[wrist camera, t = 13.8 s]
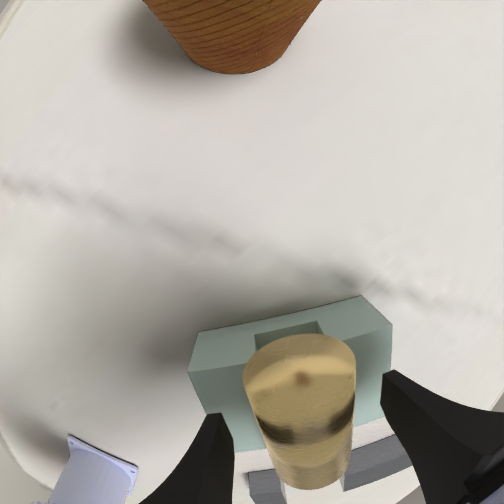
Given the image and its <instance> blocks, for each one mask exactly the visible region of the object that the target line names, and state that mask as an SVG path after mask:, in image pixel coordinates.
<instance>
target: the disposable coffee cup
mask: <svg viewBox="0 0 504 504" xmlns="http://www.w3.org/2000/svg"><path fill="white" fill-rule="evenodd" d="M142 1H144V2H145V3H146V4H147V5H148V7H149V8H150V9H151V10H152V11H153V13H154V14H155V15H156V16H157V17H158V18H159V20H160V21H161V22H162V23H163V24H164V26H165V27H166V28H167V29H168V31H169V32H170V33H171V34H172V36H173V37H174V38H175V39H176V41H177V42H178V43H179V44H180V46H181V47H182V48H183V49H184V51H185V52H186V53H187V55H188V56H189V57H190V58H191V59H192V60H193V61H194V62H195V63H197V64H198V65H200V66H201V67H204V68H206V69H209V70H211V71H215V72H220V73H225V74H243V73H249V72H254V71H257V70H259V69H262V68H265V67H267V66H269V65H271V64H272V63H274V62H275V61H276V60H278V59H279V58H280V57H281V56H282V55H283V53H284V52H285V51H286V49H287V48H288V46H289V45H290V43H291V42H292V40H293V39H294V37H295V36H296V34H297V33H298V31H299V30H300V29H301V27H302V26H303V24H304V23H305V22H306V20H307V19H308V18H309V16H310V15H311V13H312V12H313V11H314V9H315V8H316V7H317V5H318V4H319V3H320V1H321V0H142Z"/></svg>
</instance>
